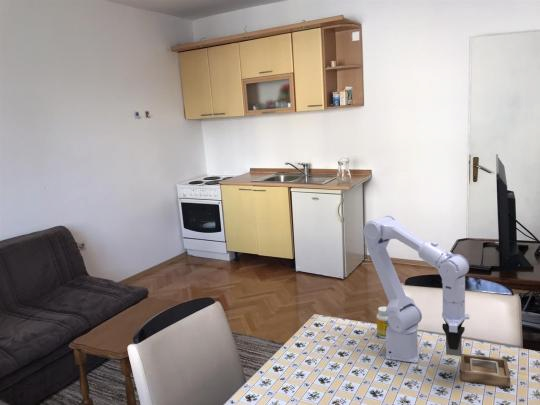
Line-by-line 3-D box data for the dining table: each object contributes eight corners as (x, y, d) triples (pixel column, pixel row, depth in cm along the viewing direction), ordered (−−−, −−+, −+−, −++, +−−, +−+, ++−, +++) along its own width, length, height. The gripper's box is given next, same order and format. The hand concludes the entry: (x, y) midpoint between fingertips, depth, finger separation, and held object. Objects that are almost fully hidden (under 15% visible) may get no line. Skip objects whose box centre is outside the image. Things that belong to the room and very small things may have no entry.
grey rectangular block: (445, 354, 125) (445, 334, 124) (446, 347, 129) (446, 328, 128) (461, 356, 123) (461, 336, 122) (461, 349, 127) (461, 329, 126)
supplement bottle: (384, 329, 157) (383, 304, 156) (396, 335, 153) (395, 308, 151) (373, 334, 154) (372, 308, 153) (385, 340, 150) (384, 313, 148)
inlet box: (461, 381, 125) (461, 371, 124) (461, 362, 134) (461, 353, 133) (510, 388, 120) (510, 378, 119) (506, 368, 129) (506, 359, 128)
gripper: (470, 311, 115) (469, 359, 118) (469, 290, 128) (468, 334, 131) (440, 308, 118) (440, 356, 120) (442, 288, 131) (442, 332, 133)
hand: (453, 344), depth 126 cm, fingers closed on grey rectangular block, 4 cm apart
